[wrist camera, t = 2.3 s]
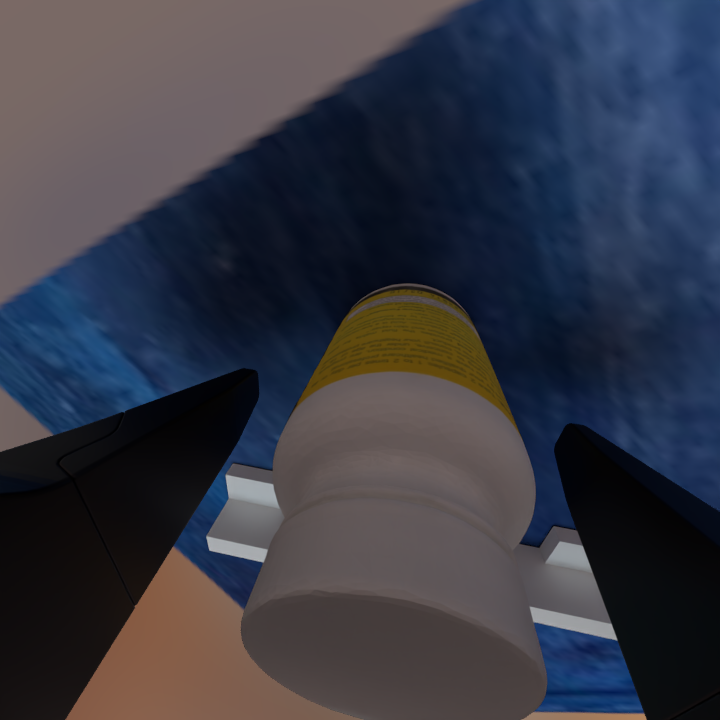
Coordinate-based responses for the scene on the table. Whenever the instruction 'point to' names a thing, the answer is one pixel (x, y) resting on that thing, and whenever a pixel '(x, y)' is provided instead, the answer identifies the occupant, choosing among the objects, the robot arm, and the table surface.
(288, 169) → the table surface
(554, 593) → the white barrier
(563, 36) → the table surface
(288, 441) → the supplement bottle
